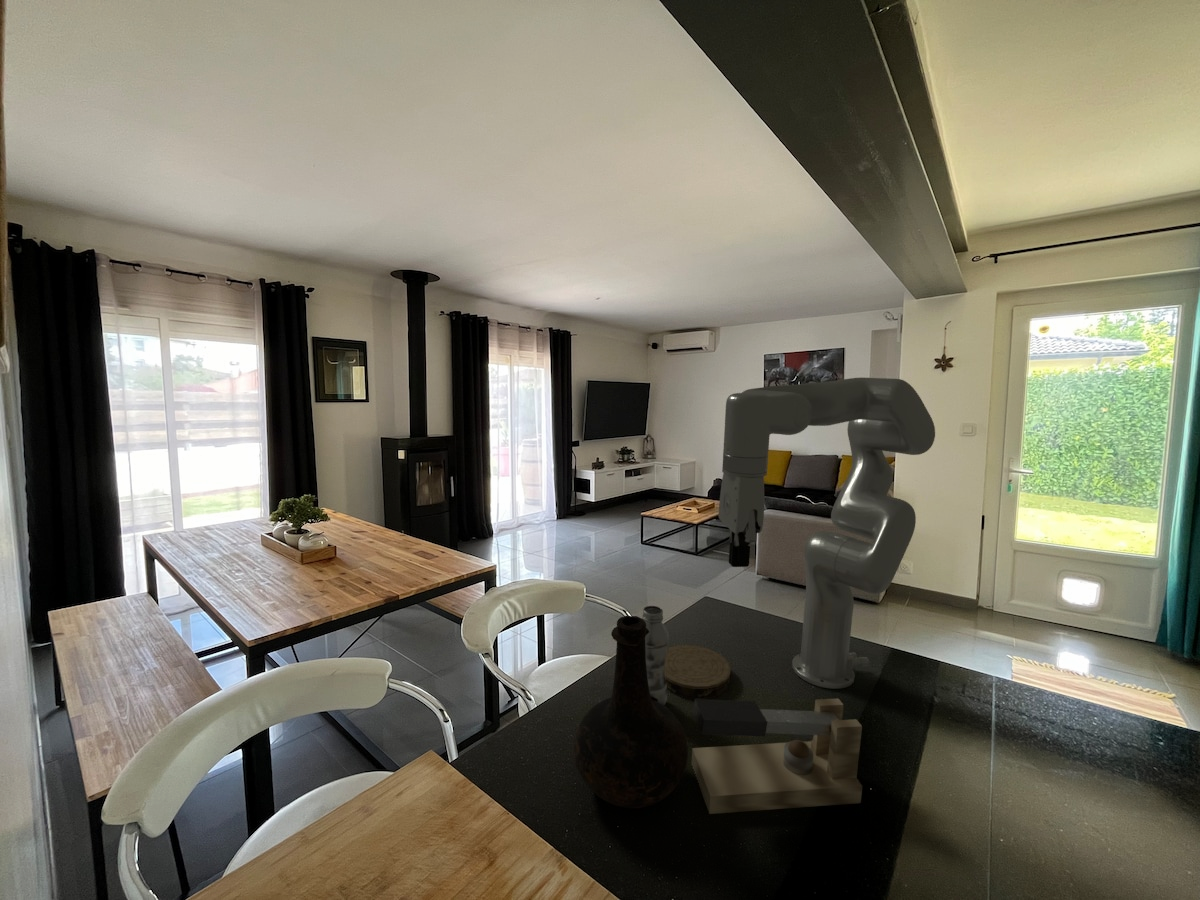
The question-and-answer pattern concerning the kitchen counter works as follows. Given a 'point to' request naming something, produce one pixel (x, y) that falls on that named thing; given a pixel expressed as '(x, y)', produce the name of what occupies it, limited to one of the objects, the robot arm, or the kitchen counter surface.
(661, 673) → the plastic bottle
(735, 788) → the nutcracker base
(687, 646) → the brown round flat disc
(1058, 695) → the kitchen counter surface
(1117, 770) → the kitchen counter surface
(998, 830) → the kitchen counter surface
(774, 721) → the lever
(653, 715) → the glass bottle
